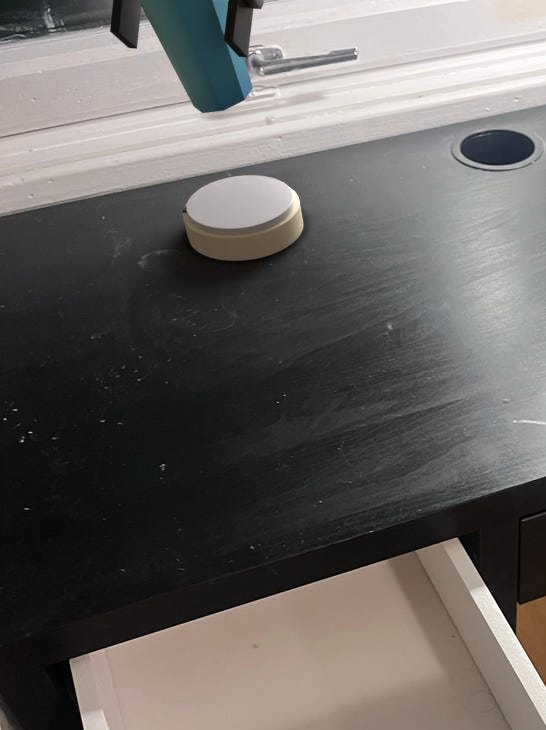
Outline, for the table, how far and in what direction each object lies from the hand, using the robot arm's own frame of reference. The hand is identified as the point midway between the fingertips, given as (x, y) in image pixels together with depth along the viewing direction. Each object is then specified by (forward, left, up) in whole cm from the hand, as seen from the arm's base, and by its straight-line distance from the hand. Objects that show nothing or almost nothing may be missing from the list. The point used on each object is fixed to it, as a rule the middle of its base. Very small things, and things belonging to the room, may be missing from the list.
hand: (179, 44), depth 78 cm
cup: (0, +3, -6) cm, 7 cm away
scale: (0, +4, -18) cm, 19 cm away
